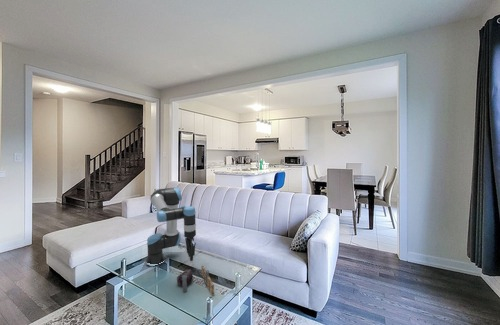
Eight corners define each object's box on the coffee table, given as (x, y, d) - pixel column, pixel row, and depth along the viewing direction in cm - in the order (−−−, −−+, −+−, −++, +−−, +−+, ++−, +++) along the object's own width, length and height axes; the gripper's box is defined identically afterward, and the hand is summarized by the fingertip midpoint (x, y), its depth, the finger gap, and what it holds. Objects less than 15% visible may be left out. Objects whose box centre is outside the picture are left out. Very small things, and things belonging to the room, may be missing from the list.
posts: (182, 290, 153) (181, 275, 153) (208, 283, 161) (208, 268, 161) (182, 293, 151) (182, 277, 150) (209, 285, 158) (209, 270, 158)
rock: (176, 285, 161) (184, 290, 155) (174, 274, 160) (181, 279, 153) (190, 276, 170) (198, 280, 163) (188, 265, 169) (196, 270, 162)
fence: (207, 286, 158) (206, 276, 157) (209, 285, 158) (208, 275, 158) (212, 296, 147) (211, 285, 147) (214, 295, 148) (213, 284, 147)
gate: (207, 283, 161) (207, 273, 161) (206, 284, 160) (205, 274, 160) (203, 275, 172) (203, 265, 172) (201, 275, 172) (201, 266, 171)
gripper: (199, 231, 147) (200, 266, 149) (191, 226, 158) (192, 259, 159) (188, 234, 143) (189, 270, 144) (181, 228, 154) (182, 262, 155)
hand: (190, 264), depth 152 cm, fingers closed
